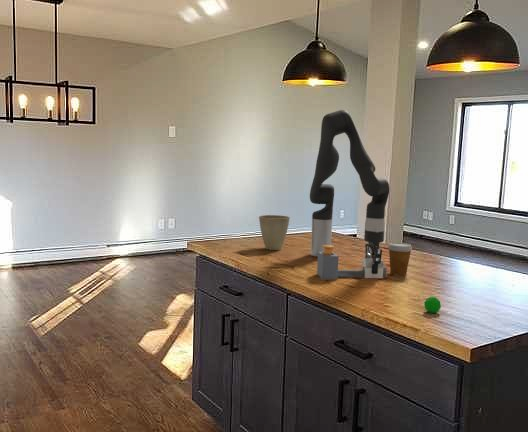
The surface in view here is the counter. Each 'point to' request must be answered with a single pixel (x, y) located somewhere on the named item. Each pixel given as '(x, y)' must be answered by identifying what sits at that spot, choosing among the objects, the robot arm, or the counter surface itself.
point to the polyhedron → (432, 305)
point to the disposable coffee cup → (399, 258)
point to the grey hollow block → (327, 266)
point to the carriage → (368, 268)
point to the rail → (356, 273)
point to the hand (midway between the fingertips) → (372, 271)
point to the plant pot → (273, 230)
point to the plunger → (328, 249)
